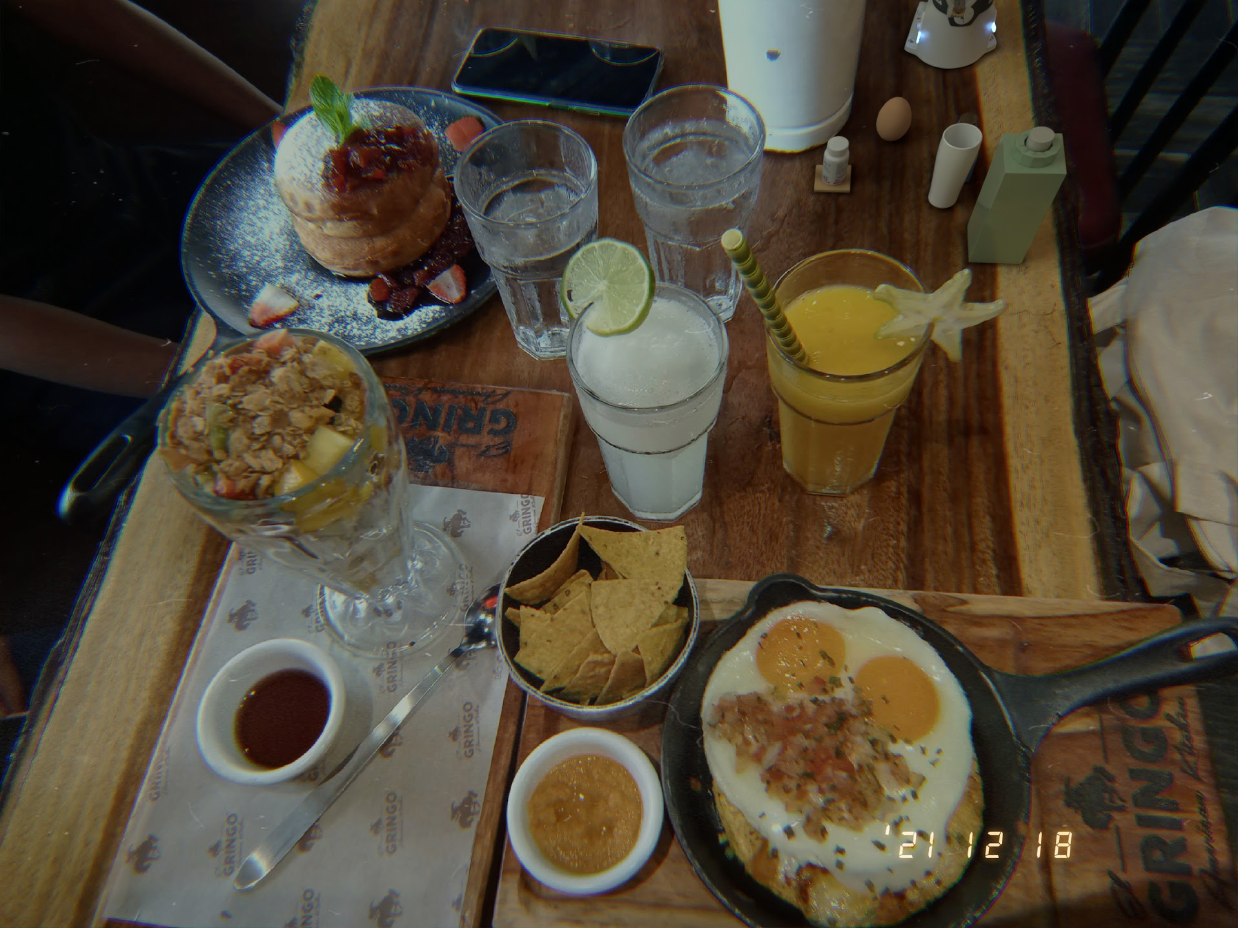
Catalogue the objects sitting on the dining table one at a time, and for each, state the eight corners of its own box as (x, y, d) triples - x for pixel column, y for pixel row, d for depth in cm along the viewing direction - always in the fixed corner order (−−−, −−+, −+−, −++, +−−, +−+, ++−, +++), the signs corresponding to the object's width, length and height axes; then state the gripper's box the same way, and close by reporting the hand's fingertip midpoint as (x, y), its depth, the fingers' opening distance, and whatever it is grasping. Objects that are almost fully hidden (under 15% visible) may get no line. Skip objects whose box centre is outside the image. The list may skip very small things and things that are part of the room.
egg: (891, 154, 150) (900, 116, 142) (866, 139, 153) (873, 101, 145) (913, 137, 151) (923, 98, 143) (888, 122, 154) (896, 83, 146)
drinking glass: (916, 194, 144) (934, 131, 131) (947, 182, 145) (969, 117, 131) (935, 217, 141) (956, 154, 128) (967, 204, 142) (991, 140, 128)
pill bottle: (847, 170, 149) (852, 135, 142) (843, 187, 147) (849, 153, 140) (823, 168, 150) (827, 134, 143) (819, 185, 148) (823, 151, 141)
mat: (815, 167, 152) (816, 164, 151) (850, 167, 150) (851, 165, 150) (813, 192, 149) (814, 189, 148) (849, 192, 147) (849, 190, 147)
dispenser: (967, 225, 139) (1006, 123, 119) (1018, 226, 138) (1067, 123, 117) (968, 262, 136) (1009, 163, 115) (1021, 264, 134) (1072, 163, 113)
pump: (1024, 137, 118) (1029, 126, 116) (1049, 137, 117) (1053, 126, 115) (1025, 153, 116) (1030, 142, 114) (1050, 153, 116) (1055, 142, 114)
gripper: (904, -65, 103) (886, 30, 115) (1063, -73, 99) (1027, 26, 111) (904, -91, 105) (887, 4, 118) (1060, -100, 101) (1025, 0, 113)
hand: (956, 15), depth 114 cm, fingers closed
